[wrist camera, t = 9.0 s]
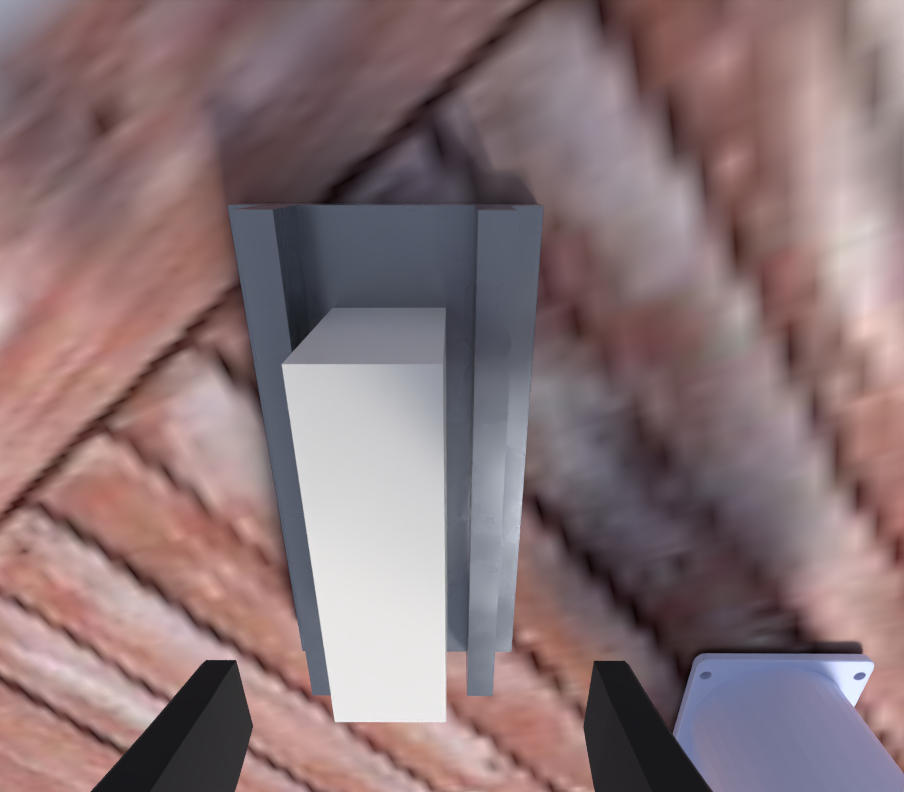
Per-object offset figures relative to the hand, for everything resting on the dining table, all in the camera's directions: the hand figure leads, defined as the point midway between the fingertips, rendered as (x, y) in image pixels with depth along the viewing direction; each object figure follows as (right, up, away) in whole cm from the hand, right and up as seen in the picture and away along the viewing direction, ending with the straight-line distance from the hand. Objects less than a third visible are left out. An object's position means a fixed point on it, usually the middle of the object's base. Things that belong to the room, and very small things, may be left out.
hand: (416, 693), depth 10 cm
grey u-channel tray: (-1, +4, +9) cm, 9 cm away
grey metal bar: (-1, +3, +8) cm, 8 cm away
